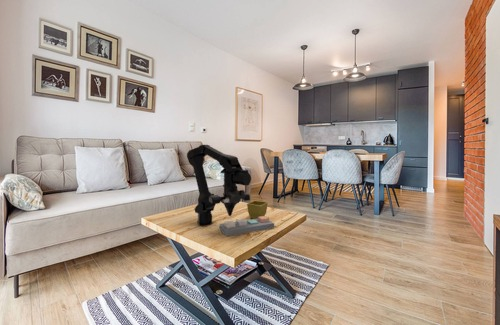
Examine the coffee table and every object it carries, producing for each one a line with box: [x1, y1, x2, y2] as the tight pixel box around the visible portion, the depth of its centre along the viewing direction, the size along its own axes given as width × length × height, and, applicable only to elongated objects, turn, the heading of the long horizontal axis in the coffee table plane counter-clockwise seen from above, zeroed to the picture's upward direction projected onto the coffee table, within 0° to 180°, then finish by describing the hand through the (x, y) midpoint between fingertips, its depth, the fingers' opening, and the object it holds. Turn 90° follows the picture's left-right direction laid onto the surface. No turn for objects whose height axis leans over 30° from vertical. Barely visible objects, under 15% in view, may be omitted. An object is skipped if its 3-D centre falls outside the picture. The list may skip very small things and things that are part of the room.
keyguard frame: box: [218, 219, 275, 237], centre depth 111 cm, size 25×10×2 cm, turn 116°
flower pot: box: [246, 200, 268, 220], centre depth 127 cm, size 9×9×9 cm
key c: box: [247, 219, 258, 225], centre depth 112 cm, size 4×4×3 cm
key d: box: [258, 215, 270, 223], centre depth 115 cm, size 4×4×3 cm
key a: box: [223, 220, 236, 228], centre depth 107 cm, size 4×4×3 cm
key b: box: [235, 218, 247, 227], centre depth 110 cm, size 4×4×3 cm
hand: (229, 215), depth 107 cm, fingers closed
